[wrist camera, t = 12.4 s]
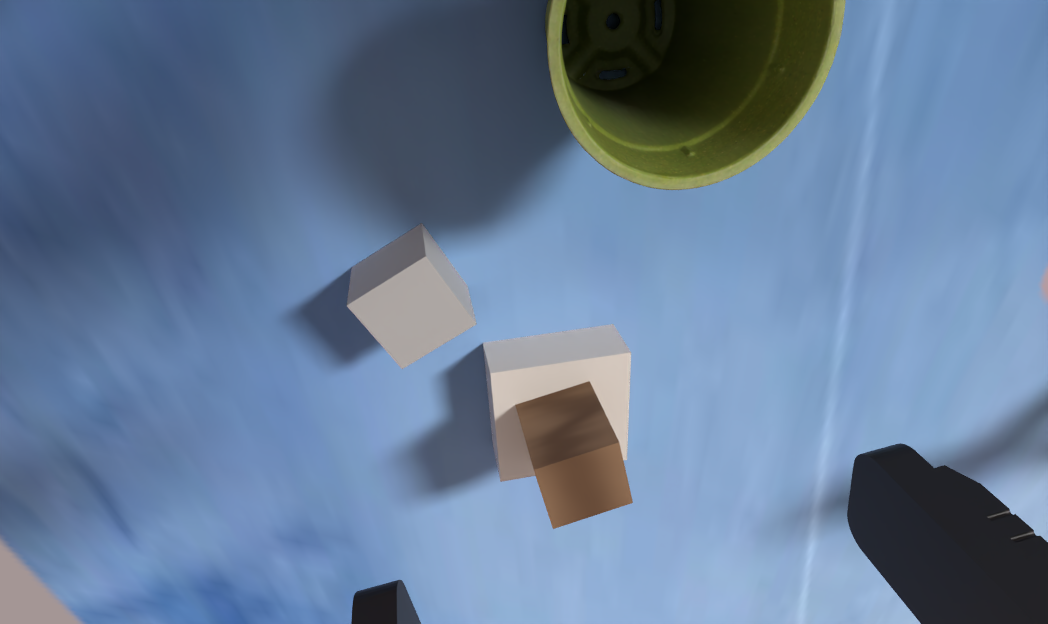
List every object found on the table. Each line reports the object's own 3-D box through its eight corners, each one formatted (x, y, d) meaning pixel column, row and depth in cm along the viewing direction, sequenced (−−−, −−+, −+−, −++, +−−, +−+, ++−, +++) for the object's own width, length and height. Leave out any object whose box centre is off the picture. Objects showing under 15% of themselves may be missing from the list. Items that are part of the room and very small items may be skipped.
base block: (611, 321, 43) (630, 352, 39) (609, 424, 47) (626, 459, 44) (482, 339, 42) (490, 373, 38) (492, 443, 46) (500, 481, 43)
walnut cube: (589, 381, 40) (619, 442, 35) (603, 437, 42) (632, 502, 37) (515, 404, 40) (533, 469, 34) (533, 460, 42) (553, 528, 37)
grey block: (421, 222, 37) (425, 256, 32) (467, 285, 39) (476, 324, 35) (351, 266, 37) (346, 305, 33) (400, 325, 40) (402, 369, 35)
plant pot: (747, 49, 35) (883, 79, 26) (573, 170, 37) (638, 243, 27) (657, -175, 29) (788, -246, 20) (454, -19, 31) (483, -14, 21)
